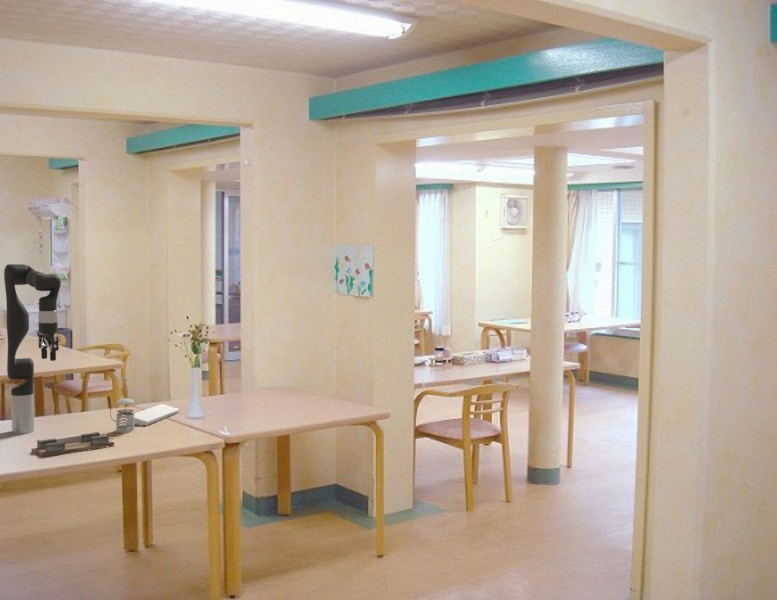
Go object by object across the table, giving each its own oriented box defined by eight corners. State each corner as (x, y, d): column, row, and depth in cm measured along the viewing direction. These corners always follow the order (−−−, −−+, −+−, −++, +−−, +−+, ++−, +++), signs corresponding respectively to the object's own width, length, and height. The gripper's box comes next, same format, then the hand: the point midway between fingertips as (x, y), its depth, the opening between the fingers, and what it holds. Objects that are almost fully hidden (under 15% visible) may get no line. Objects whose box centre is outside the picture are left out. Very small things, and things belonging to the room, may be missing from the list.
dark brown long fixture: (31, 452, 363) (31, 441, 363) (100, 441, 384) (100, 431, 384) (44, 457, 355) (44, 446, 354) (114, 445, 376) (114, 435, 375)
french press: (136, 433, 401) (136, 378, 400) (109, 434, 398) (109, 379, 397) (136, 429, 411) (136, 375, 409) (110, 430, 408) (109, 376, 406)
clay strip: (43, 451, 367) (37, 448, 371) (84, 444, 380) (77, 442, 384) (43, 441, 367) (37, 439, 371) (84, 434, 380) (77, 432, 384)
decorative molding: (177, 418, 448) (160, 412, 450) (179, 409, 448) (162, 403, 450) (145, 431, 415) (126, 425, 417) (147, 421, 414) (128, 415, 416)
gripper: (32, 320, 378) (32, 358, 379) (46, 323, 368) (47, 362, 369) (49, 320, 383) (50, 357, 384) (64, 322, 373) (64, 360, 374)
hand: (48, 359), depth 377 cm, fingers open, 8 cm apart
